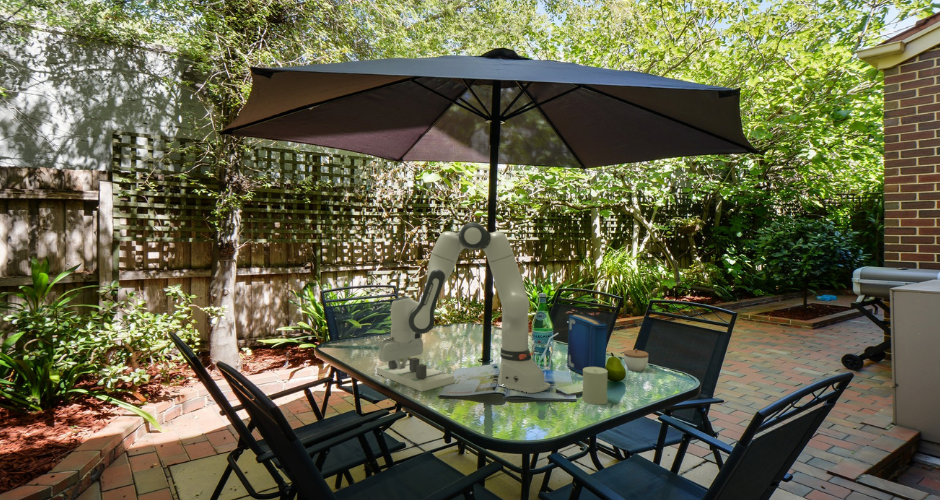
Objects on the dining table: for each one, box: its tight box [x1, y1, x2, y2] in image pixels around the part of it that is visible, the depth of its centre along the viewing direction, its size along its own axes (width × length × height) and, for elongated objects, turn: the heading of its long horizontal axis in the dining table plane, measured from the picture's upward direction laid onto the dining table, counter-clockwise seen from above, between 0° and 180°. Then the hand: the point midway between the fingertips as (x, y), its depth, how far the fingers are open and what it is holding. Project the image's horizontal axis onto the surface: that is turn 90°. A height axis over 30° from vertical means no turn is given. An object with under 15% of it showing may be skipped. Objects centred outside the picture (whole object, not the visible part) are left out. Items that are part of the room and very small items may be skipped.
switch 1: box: [387, 360, 397, 369], centre depth 222 cm, size 3×3×5 cm
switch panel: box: [376, 360, 455, 393], centre depth 218 cm, size 32×17×3 cm, turn 43°
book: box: [566, 314, 608, 376], centre depth 226 cm, size 22×7×25 cm, turn 22°
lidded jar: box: [623, 348, 649, 372], centre depth 234 cm, size 11×11×9 cm
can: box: [581, 367, 609, 405], centre depth 192 cm, size 9×9×12 cm
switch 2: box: [416, 363, 428, 379], centre depth 208 cm, size 3×3×5 cm
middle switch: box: [409, 357, 420, 372], centre depth 218 cm, size 3×3×5 cm
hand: (401, 368), depth 213 cm, fingers closed
